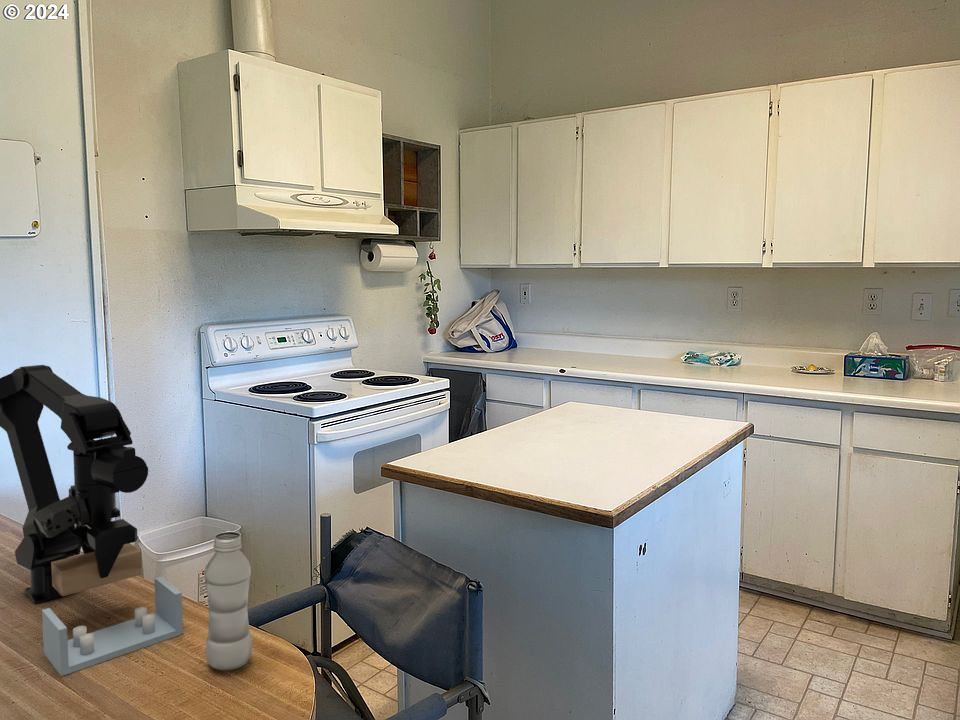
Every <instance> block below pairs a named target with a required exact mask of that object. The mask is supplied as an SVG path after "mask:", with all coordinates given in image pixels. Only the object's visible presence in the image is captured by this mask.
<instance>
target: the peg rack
mask: <svg viewBox="0 0 960 720" xmlns="http://www.w3.org/2000/svg"><path fill="white" fill-rule="evenodd" d="M182 593H183V592H182V591H181V590H179V589H178V588H177V587H175V586H174V585H173V584H171V583H170V582H169V581H168V580H166V579H165V578H164V577H162V576H160V575H159V576H157V577H154V605H155V606H154V611H155V612H152V613H148V608H147V607H146V606H140V607H136V608H135V609H134V618H133V619H130V620H127V621H123V622H120V623H117V624H114V625H111V626H107V627H104V628H102V629H98V630H96V631H95V630H94V631H93V632H89V633H87V631H88V630H87V626H86V625H78V626H75V627H74V628H73V629H72V638H70V639H68V628H67V626H66V625H65V623H63V622H62V619H61V620H60V618H59V617H58V616H57V614H55V612H54V611H53V610H52V609H51V608H50V607H48V608H47V607H46V608H45V609H42V610H41V617H42V618H41V620H42V643H43V655H44V656H45V657H46V659H47V660H48V662H49V663H51V665H52V666H53V668H54V669H55V671H56V672H57V673H58V675H59V676H61V677H63V676H66V675H69V674H72V673H75V672H77V671H79V670H80V671H81V670H83V669H84V670H85V669H86V668H89V667H92V666H94V665H95V666H96V665H97V664H100V663H104V662H106V661H109V660H112V659H115V658H119V657H120V656H123V655H126V654H129V653H131V652H135V651H138V650H141V649H143V648H146V647H149V646H152V645H155V644H158V643H160V642H164V641H167V640H169V639H172V638H175V637H178V636H181V635H183V634H184V633H183V601H182V600H183V599H182V598H183V594H182Z"/></svg>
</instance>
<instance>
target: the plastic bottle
mask: <svg viewBox="0 0 960 720" xmlns="http://www.w3.org/2000/svg"><path fill="white" fill-rule="evenodd" d="M213 537H214V538H213V540H214V541H213V542H214V543H213V547H212V548H213V551H215V552H214V553H213V554H212V556H211V557H210V558H209V560H208V561H207V563H206V564H205V568H204V571H203V578H204V583H205V589H206V594H207V603H208V629H207V637H206V642H205V648H204V649H205V650H204V653H205V657H206V661H207V663H208V664H209V665H210V666H211V668H213V670H217V671H227V672H228V671H233V670H237V669H239V668H241V667H243V666H245V665H246V664H247V663H248V662H249V660H250V659H251V656H252V651H253V639H252V634H251V631H250V625H249V614H248V601H249V600H248V599H249V590H250V583H251V572H252V567H251V564H250V561H249V560H248V559H247V557H246V555H244V553H243V552H242V551H241V548H242V547H243V546H242V545H243V544H242V534H241V533H240V532H237V531H231V530H230V531H221V532H219V533H216V534H215V535H214V536H213Z"/></svg>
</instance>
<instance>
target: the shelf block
mask: <svg viewBox="0 0 960 720" xmlns="http://www.w3.org/2000/svg"><path fill="white" fill-rule="evenodd" d="M51 568H52V586H53V587H54V588H55V589H56V590H57V591H58V592H59V593H60V594H61V595H62V597H65V596H69V595H72V594H76V593H80V592H84V591H87V590H91V589H95V588H99V587H102V586H106V585H109V584H112V583H116V582H119V581H123V580H127V579H130V578H133V577H138V576H141V575H142V573H143V571H142V551H141V550H139V548H137V547H135V546H134V545H133V544H132V543H129V544H124V546H123V547H122V549H121V551H120V553H119V555H118V557H117V559H116V561H115V563H114V565H113V567H112V569H111V571H110V573H109V575H108V577H105V578H100V575H99V571H98V567H97V563H96V558H95V553H94V552H90V553H86V554H84V553H82V554H79V555H75V556H72V557H69V558H66V559H62V560H58V561H54V562H51Z"/></svg>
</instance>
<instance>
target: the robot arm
mask: <svg viewBox="0 0 960 720" xmlns="http://www.w3.org/2000/svg"><path fill="white" fill-rule="evenodd" d="M44 407H46V408H47V409H49V410H50V411H51V412H53V413H54V414H55V415H56V416H58V418H60V420H61V421H60V429H61V430H62V431H63V433H64V434H65V435H66V437H67V438H68V440H69V441H70V443H68V445H67V446H66V448H67V450H69V451H72V453H73V454H72V455H73V476H74V477H73V479H74V484H73V485H70V488H68V496H66V497H65V498H62V499H61V498H60V495H59V491H58V489H57V485H56V481H55V479H54V475H53V471H52V469H51V468H52V467H51V465H50V461H49V457H48V454H47V451H46V447H45V444H44V441H43V440H44V439H43V437H42V433H41V429H40V426H39V421H40V418H41V415H42V413H43V409H44ZM0 428H1V429H2V430H3V431H5V432H6V434H7V437H8V442H9V445H10V448H11V452H12V456H13V458H14V462H15V466H16V470H17V473H18V476H19V479H20V484H21V488H22V490H23V494H24V499H25V501H26V505H27V510H28V512H27V515H26V518H25V520H24V523H23V525H22V533H23V539H21V541H20V543H19V544H18V545H17V547H16V549H15V551H14V555H15V559H16V564H17V565H19V566H21V567H23V568H25V569H27V570H29V574H30V586H29V587H25V588H24V593H25V594H26V595H27V596H28V597H29V599H30V600H31V601H32V602H33V603H34V604H39V603H43V602H46V601H49V600H53V599H58V598H62V597H63V596H62V595H61V594H60V593H59V592H58V591H57V590H56V589H55V588H54V587H53V586H52V568H51V562H54V561H58V560H62V559H66V558H70V557H74V556H78V555H81V549H82V552H83V553H82V554H86V553H90V552H94V553H95V558H96V563H97V567H98V571H99V575H100V578H105V577H108V575H109V573H110V571H111V569H112V567H113V565H114V563H115V561H116V559H117V557H118V555H119V553H120V551H121V549H122V547H123V546H124V544H129V543H130V544H132V543H135V542H137V541H138V528H136V527H135V526H134V525H132V524H131V523H129V522H128V521H127V520H125V519H123V518H121V519H115V518H119V517H121V510H120V509H118V508H117V507H116V493H120V492H122V493H125V494H127V493H129V494H131V493H134V492H136V491H138V490H139V489H140V488H142V487H143V485H144V484H145V483H146V481H147V478H148V476H149V466H148V465H147V462H146V461H145V460H144V459H143V458H142V457H141V456H138V455H136V448H135V447H132V446H130V445H133V440H132V436H131V434H132V432H131V431H130V429H129V427H128V425H127V424H126V422H125V420H124V417H123V415H122V413H121V412H120V410H119V409H118V407H117V405H116V404H115V403H113V402H112V401H111V400H108V399H105V398H103V397H99V396H91V395H86V394H83V392H81V391H79V390H78V389H76V388H75V387H74V386H72V385H71V384H70V383H69V382H67V381H66V380H64V379H63V378H61V377H60V376H59V375H57V374H55V372H53V369H52V367H50V365H45V364H38V365H37V364H36V365H35V364H34V365H27V366H25V365H23V366H19V367H17V368H16V369H14V370H12V372H11V373H9V374H6V375H3V376H2V377H0ZM114 435H115V436H114ZM113 519H115V520H113Z"/></svg>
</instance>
